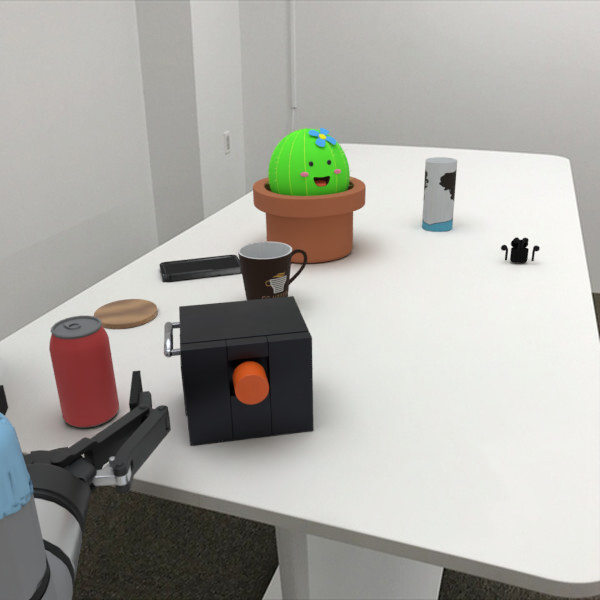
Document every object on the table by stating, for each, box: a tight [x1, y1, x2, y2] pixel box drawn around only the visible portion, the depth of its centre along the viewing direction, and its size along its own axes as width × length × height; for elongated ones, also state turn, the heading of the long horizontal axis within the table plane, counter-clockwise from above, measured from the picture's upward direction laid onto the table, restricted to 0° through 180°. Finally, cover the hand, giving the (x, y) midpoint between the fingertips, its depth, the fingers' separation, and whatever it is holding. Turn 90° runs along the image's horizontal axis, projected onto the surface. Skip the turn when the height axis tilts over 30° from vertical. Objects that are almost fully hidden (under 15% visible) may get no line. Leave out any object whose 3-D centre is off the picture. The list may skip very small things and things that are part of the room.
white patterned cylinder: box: [421, 156, 458, 233], centre depth 143 cm, size 7×7×15 cm
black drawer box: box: [163, 295, 314, 447], centre depth 76 cm, size 12×16×12 cm
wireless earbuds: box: [500, 236, 541, 264], centre depth 123 cm, size 7×2×5 cm, turn 82°
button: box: [233, 361, 269, 404], centre depth 69 cm, size 3×4×4 cm
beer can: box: [48, 315, 120, 429], centre depth 76 cm, size 7×7×12 cm
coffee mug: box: [237, 241, 308, 300], centre depth 105 cm, size 12×9×10 cm
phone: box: [158, 254, 242, 282], centre depth 123 cm, size 8×1×15 cm
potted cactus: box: [252, 125, 366, 264], centre depth 128 cm, size 22×22×25 cm
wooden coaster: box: [93, 298, 159, 330], centre depth 105 cm, size 10×10×1 cm
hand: (71, 389), depth 68 cm, fingers open, 13 cm apart
